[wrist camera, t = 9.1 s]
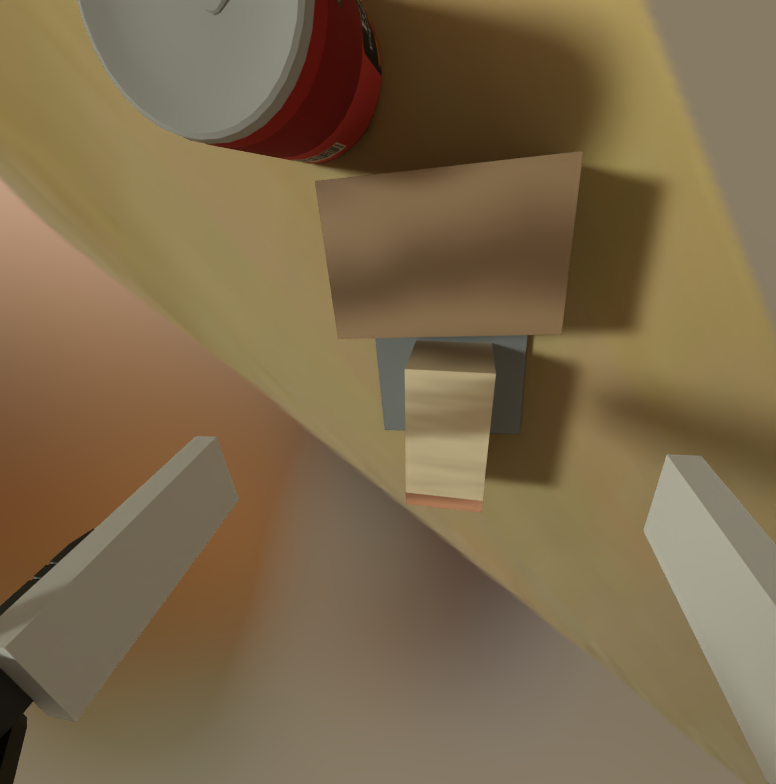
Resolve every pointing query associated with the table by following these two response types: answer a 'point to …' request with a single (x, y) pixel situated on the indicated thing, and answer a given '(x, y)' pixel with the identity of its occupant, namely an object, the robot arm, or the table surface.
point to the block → (448, 423)
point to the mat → (505, 348)
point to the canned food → (244, 70)
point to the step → (452, 248)
